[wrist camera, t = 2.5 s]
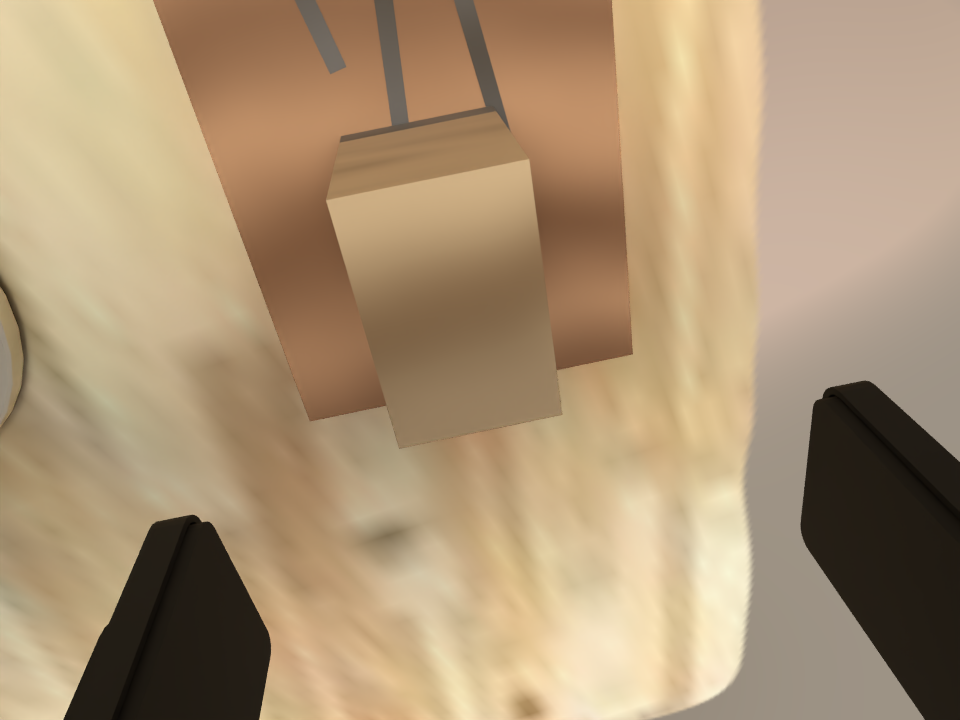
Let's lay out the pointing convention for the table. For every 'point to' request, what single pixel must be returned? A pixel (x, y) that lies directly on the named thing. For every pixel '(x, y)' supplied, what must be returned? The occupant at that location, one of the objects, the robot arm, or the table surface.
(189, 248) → the table surface
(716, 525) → the table surface
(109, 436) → the table surface
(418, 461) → the table surface
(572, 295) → the board
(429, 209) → the block
